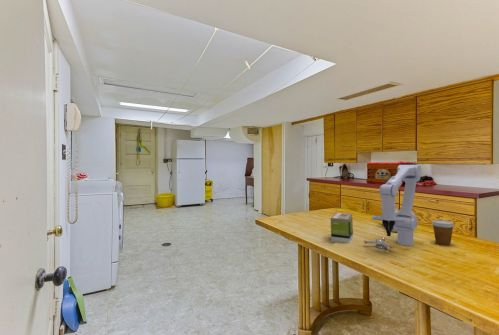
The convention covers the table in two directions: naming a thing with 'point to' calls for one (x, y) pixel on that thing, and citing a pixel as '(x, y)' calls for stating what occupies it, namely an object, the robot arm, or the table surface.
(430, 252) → the table surface
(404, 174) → the robot arm
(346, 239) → the tea box
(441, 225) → the disposable coffee cup
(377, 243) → the capstan
